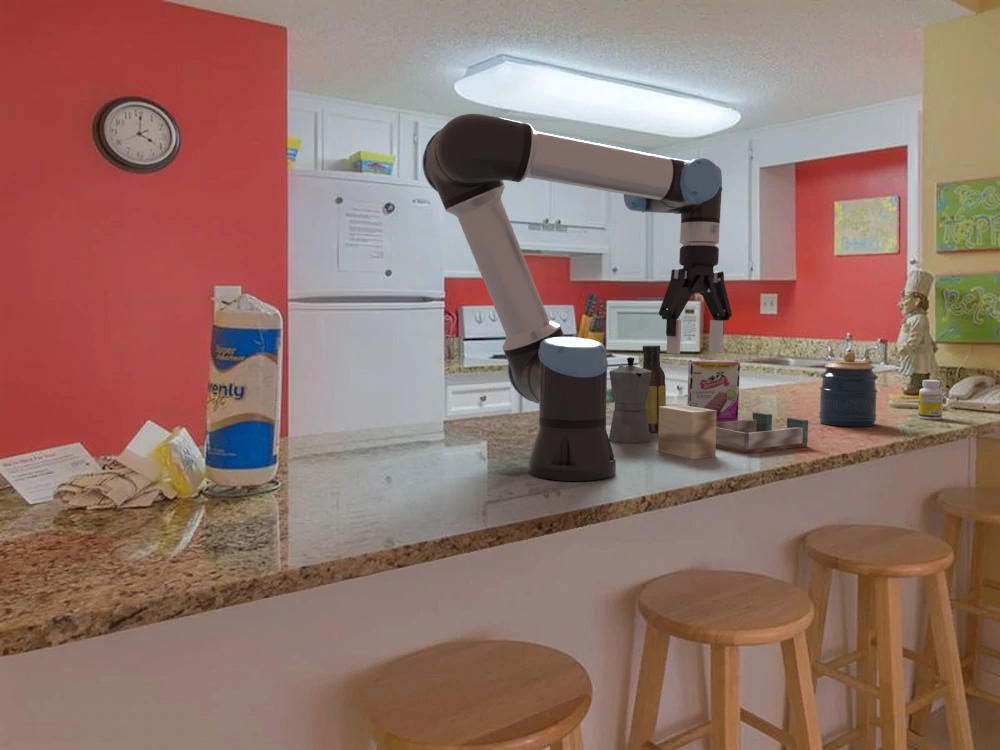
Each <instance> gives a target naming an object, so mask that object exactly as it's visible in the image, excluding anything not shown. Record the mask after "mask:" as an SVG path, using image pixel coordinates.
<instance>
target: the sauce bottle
mask: <svg viewBox="0 0 1000 750" xmlns="http://www.w3.org/2000/svg"><path fill="white" fill-rule="evenodd" d="M642 353H643V362H642V363H643V366H642V368H643V369H647V370H650V371H652V372H651V379H650V385H649V391H648V398H647V402H646V409H645V410H646V412H647V419H648V426H649V432H650V433H658V429H659V407H661V406H667V401H666V400H667V395H666V393H667V392H666V391H667V389H666V386H667V385H666V375H665V374H666V373H665V371H664V370H663V368H662V367H661V355H660V353H661V345H660V344H644V345H642Z"/></svg>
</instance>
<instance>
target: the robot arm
mask: <svg viewBox="0 0 1000 750" xmlns="http://www.w3.org/2000/svg"><path fill="white" fill-rule="evenodd" d="M421 165H422V170H423V174H424V177H425V179H426V181H427V183H428V185H430V187H431V188H432V189H433V190H434V191H436V192H437V193H438V195H439V198H440V200H441V203H442V205H443V207H444V210H445V211H446V212H447V213H448V214H451V215H452V216H453V215H454V216H455V217H456V218H457V220H458V222H459V224H460V226H461V229H462V231H463V232H462V233H464V237H465V239H466V242H467V244H468V246H469V248H470V251H471V253H472V254H471V255H472V256H473V258H474V261H475V263H476V266H477V267H478V270H479V274H480V275H481V278H482V280H483V283H484V284H485V287H486V291H487V293H488V295H489V297H490V299H491V303H492V305H493V307H494V309H495V313H496V314H497V316H498V319H499V321H500V324H501V328H502V329H503V332H504V334H505V340H504V343H503V345H502V350H503V353H504V355H505V359H506V360H507V362H508V363H507V374H508V375H507V376H508V379H509V382H510V384H511V386H512V387H513V389H514V390H515V391H516V392H517V393H518V394H519V395H521V396H522V397H523V398H524V399H526V400H528V401H529V402H533V403H535V404H539V406H538V408H539V409H538V415H539V416H538V421H539V425H538V431H537V434H536V438H535V441H534V444H533V447H532V450H531V453H530V456H529V460H528V471H529V474H530V475H532V476H534V477H537V478H541V479H544V480H545V479H546V480H551V481H553V480H554V481H561V482H562V481H564V482H566V481H567V482H583V481H585V482H586V481H588V482H589V481H597V480H599V481H600V480H604V479H609V478H611V477H614V476H615V475H616V472H617V469H616V468H617V465H616V464H617V461H616V458H615V454H614V450H613V447H612V444H611V441H610V440H609V435H608V432H607V385H608V384H607V383H608V382H607V381H608V367H609V362H608V357H607V356H608V355H607V349H606V346H605V345H604V344H603V343H602V342H600V341H597V340H594V339H591V338H582V337H577V336H565V334H564V332H563V329H562V327H561V325H560V323H557V322H555V321H554V320H551V319H549V316H548V314H547V312H546V308H545V307H544V303H543V301H542V299H541V298H542V297H541V296H540V293H539V291H538V288H537V286H536V284H535V281H534V279H533V275H532V274H531V271H530V268H529V265H528V263H527V261H526V258H525V256H524V253H523V251H522V248H521V246H520V243H519V242H518V241H519V240H518V239H517V236H516V234H515V231H514V229H513V226H512V223H511V221H510V218H509V216H508V214H507V211H506V208H505V206H504V203H503V200H502V195H503V193H504V190H505V187H506V186H505V184H504V181H509V182H515V183H522V182H523V181H524V180H525V179H527V178H528V179H534V180H540V181H546V182H552V183H557V184H563V185H569V186H575V187H580V188H581V187H582V188H587V189H592V190H593V189H594V190H599V191H603V192H611V193H617V194H623V202H624V204H625V206H626V208H627V209H628V210H630V211H634V212H635V211H636V212H640V213H657V214H658V213H660V214H664V213H665V214H666V213H667V214H675V215H677V214H678V215H680V229H679V230H680V231H679V233H680V234H679V243H680V244H681V245H682V246H680V248H679V261H678V263H679V265H680V266H682V267H683V268H672V270H671V271H670V273H671V274H670V281H669V283H668V286H667V289H666V291H665V294H664V297H663V300H662V302H661V305H660V308H659V311H658V314H659V316H661V319H662V320H666V324H665V325H666V327H665V328H666V329H665V334H666V354H671V355H673V354H675V355H680V354H681V339H682V338H681V337H682V335H681V334H682V319H679V318H680V316H681V314H682V312H683V311H684V309H685V308H686V306H687V304H688V302H689V301H690V299H691V297H692V295H694V294H700V296H702V298H703V300H704V302H705V304H706V306H707V308H708V311H709V313H710V314H711V317H712V319H710V320H709V337H708V338H709V342H708V343H709V344H708V352H709V353H718V354H719V353H723V344H724V341H723V339H724V333H725V331H724V330H725V329H724V328H725V321H729V320H730V318H731V317H732V315H733V313H732V310H731V304H730V301H729V297H728V293H727V289H726V286H725V285H726V284H725V274H724V271H722V270H721V271H714V267H716V266H718V264H719V256H720V252H719V251H720V248H719V246H716V245H718V244H719V243H720V224H721V210H722V209H721V208H722V207H721V206H722V192H723V182H722V181H723V176H722V170H721V169H722V168H720V167H719V166H718V165H716V164H715V163H714V162H713V161H712V160H710V159H708V158H705V157H704V158H702V157H699V158H695V157H694V158H690V159H689V160H684V159H679V158H674V157H669V156H668V157H667V156H662V155H657V154H652V153H647V152H642V151H637V150H632V149H626V148H621V147H617V146H612V145H608V144H607V145H606V144H603V143H602V144H601V143H596V142H591V141H586V140H585V141H584V140H580V139H576V138H570V137H565V136H559V135H554V134H550V133H544V132H540V131H536V130H535V129H534V128H533V126H532V125H531V124H530V123H528V122H522V121H516V120H512V119H507V118H504V117H498V116H495V115H494V116H492V115H487V114H481V113H467V114H466V113H465V114H461V115H458V116H456V117H454V118H452V119H450V120H449V121H448V122H447V123H446V124H445V125H444V126H443V128H441V129H440V130H438V131H436V132H435V134H433V135H432V136H431V137H430V139H429V141H428V142H427V144H426V146H425V149H424V151H423V155H422V164H421Z"/></svg>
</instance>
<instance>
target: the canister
mask: <svg viewBox="0 0 1000 750" xmlns="http://www.w3.org/2000/svg"><path fill="white" fill-rule="evenodd" d="M823 367H824V368H826V369H825V371H824V372H823V373H821V374H820V375H819V376H820V378H821V379H822V382H821V383H822V384H821V387H820V389H819V390H820V397H819V399H820V401H819V412H818V414H819V415H818V417H819V422H820V423H821V424H824V425H827V426H836V427H845V428H866V427H873V426H875V425H876V421H877V395H878V394H877V393H878V389H877V388H876V381H877V380H878V379H879V376H878V375H877V374H876V373H874V371H873V369H875V366H874V365H872V364H871V363H870V362H869V361H864V360H856V354H855V353H854V352H852V351H848V352H847V351H846V352H845V353H844V355H843V360H841V359H840V360H836V359H835V360H834V359H833V360H830V361H829V362H827V363H826V364H825V365H824V366H823Z"/></svg>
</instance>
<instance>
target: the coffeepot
mask: <svg viewBox="0 0 1000 750" xmlns="http://www.w3.org/2000/svg"><path fill="white" fill-rule="evenodd" d="M626 360H627V365H625V366H624V365H620V366H618V367H617V368H615V369H611V370H609V380H610V388H611V394H612V395H611V397H612V401H613V402H614V410H613V412H612V419H611V423H610V424H611V425H610V429H609V435H608V438H609V441H610V442H614V443H617V444H645V443H646V444H647V443H649V442H650V440H651V432H649V426H648V419H647V412H646V410H645V409H646V402H647V398H648V391H649V385H650V379H651V372H652V371H650V370H647V369H643V367H640V366H636V365H634V362H635V357H631V356H629V357H627V358H626Z"/></svg>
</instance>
